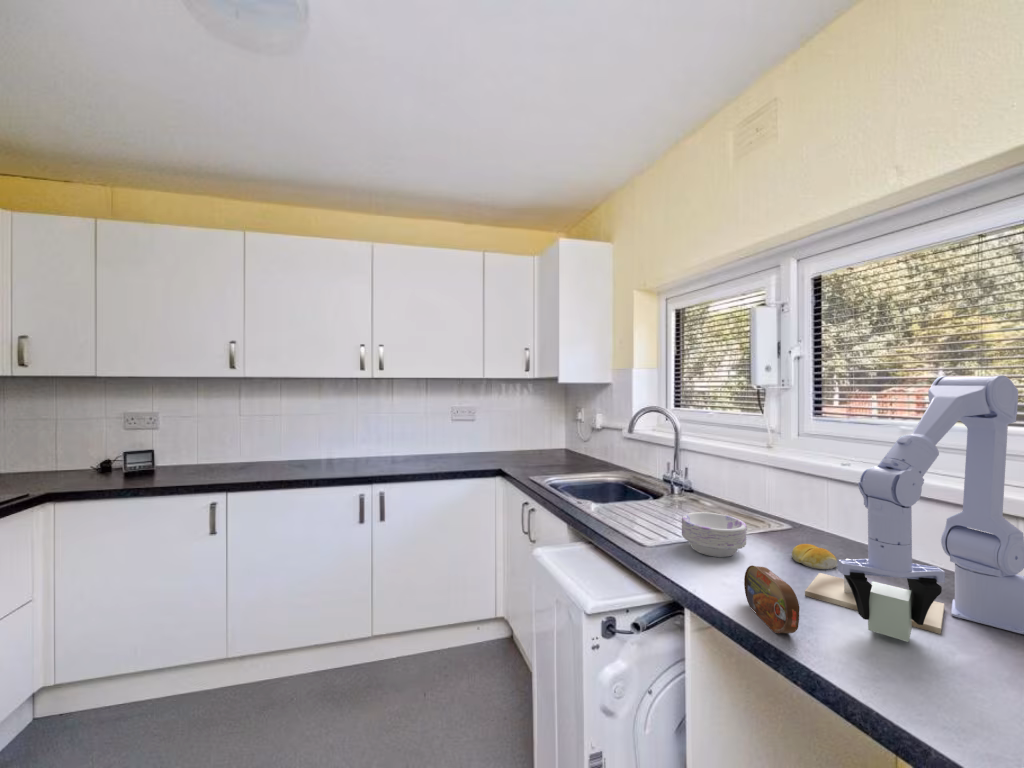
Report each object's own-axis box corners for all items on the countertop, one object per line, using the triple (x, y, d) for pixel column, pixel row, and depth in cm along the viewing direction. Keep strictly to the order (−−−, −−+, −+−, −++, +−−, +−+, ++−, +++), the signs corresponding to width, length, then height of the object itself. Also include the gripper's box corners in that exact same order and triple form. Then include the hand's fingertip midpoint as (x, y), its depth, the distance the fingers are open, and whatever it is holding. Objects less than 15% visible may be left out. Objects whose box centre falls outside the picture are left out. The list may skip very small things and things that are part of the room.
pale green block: (911, 629, 77) (911, 590, 77) (908, 642, 74) (908, 601, 74) (872, 618, 81) (872, 581, 81) (868, 629, 77) (867, 591, 77)
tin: (742, 600, 91) (742, 558, 91) (758, 600, 91) (758, 558, 91) (784, 644, 76) (783, 593, 76) (803, 644, 76) (803, 593, 75)
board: (944, 609, 86) (944, 603, 86) (940, 634, 78) (940, 628, 78) (819, 577, 101) (819, 572, 101) (804, 595, 92) (804, 590, 92)
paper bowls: (760, 555, 114) (760, 523, 113) (717, 566, 107) (717, 533, 107) (709, 536, 127) (709, 508, 127) (669, 546, 121) (668, 516, 120)
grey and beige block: (862, 591, 91) (862, 562, 91) (860, 596, 90) (860, 565, 90) (846, 587, 93) (846, 558, 93) (844, 592, 91) (844, 562, 91)
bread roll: (810, 554, 114) (810, 538, 114) (843, 568, 106) (843, 551, 106) (782, 557, 113) (782, 541, 113) (814, 572, 104) (814, 554, 104)
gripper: (925, 534, 79) (926, 612, 79) (830, 528, 83) (830, 603, 83) (953, 549, 72) (954, 634, 73) (848, 542, 76) (849, 623, 76)
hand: (890, 619), depth 77 cm, fingers closed on pale green block, 7 cm apart
